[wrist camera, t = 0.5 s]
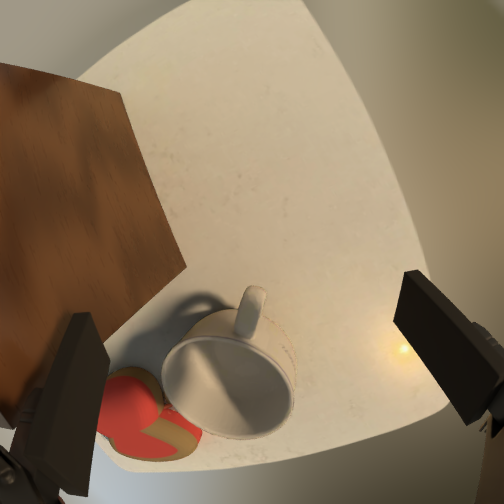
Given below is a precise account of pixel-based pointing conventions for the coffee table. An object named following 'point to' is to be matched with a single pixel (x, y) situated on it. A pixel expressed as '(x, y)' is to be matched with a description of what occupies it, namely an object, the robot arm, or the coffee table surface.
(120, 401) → the decorative object
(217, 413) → the teacup
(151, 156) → the coffee table surface
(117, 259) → the plinth
